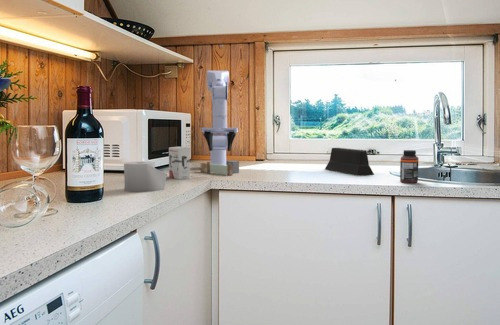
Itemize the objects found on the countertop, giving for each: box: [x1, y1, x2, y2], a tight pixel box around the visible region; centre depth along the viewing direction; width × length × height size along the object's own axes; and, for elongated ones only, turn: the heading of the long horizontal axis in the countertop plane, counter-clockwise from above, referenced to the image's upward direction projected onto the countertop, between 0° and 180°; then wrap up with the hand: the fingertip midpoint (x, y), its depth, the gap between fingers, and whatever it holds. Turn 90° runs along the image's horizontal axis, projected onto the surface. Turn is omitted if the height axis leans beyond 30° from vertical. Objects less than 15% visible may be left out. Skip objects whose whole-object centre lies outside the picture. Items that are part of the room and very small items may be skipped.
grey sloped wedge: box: [123, 161, 168, 193], centre depth 136 cm, size 9×13×9 cm
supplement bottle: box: [399, 149, 419, 184], centre depth 150 cm, size 6×6×11 cm
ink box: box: [168, 146, 191, 180], centre depth 163 cm, size 9×5×12 cm, turn 37°
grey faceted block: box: [226, 160, 240, 175], centre depth 179 cm, size 4×6×5 cm, turn 136°
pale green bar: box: [210, 164, 227, 175], centre depth 175 cm, size 10×2×4 cm, turn 46°
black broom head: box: [324, 147, 375, 177], centre depth 181 cm, size 24×9×10 cm, turn 23°
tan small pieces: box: [199, 161, 233, 177], centre depth 176 cm, size 18×1×4 cm, turn 46°
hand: (220, 150), depth 170 cm, fingers open, 7 cm apart
